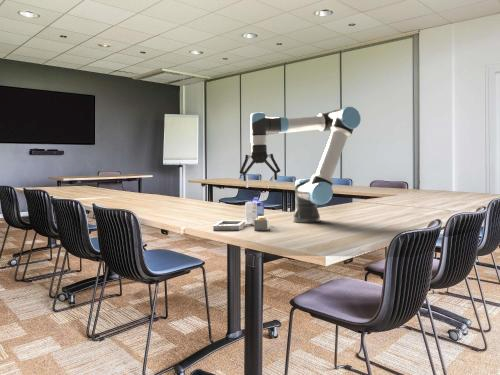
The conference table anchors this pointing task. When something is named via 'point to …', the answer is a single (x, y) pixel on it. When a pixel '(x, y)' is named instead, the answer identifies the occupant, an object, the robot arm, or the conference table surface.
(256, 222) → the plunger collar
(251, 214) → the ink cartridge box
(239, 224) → the tray
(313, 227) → the conference table surface
